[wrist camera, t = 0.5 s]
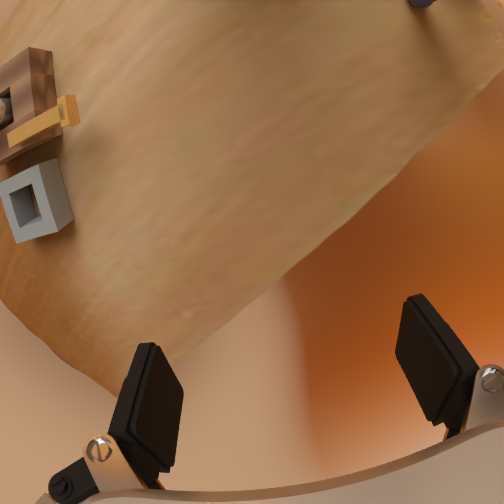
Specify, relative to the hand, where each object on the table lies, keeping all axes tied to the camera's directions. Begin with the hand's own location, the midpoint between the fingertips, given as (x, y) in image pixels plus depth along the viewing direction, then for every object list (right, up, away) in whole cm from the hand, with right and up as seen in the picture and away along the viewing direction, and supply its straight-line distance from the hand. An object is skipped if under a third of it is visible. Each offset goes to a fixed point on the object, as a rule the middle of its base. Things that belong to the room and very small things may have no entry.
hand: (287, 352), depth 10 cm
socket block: (-36, +26, +20) cm, 49 cm away
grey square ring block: (-34, +12, +26) cm, 45 cm away
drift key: (-27, +19, +16) cm, 37 cm away
